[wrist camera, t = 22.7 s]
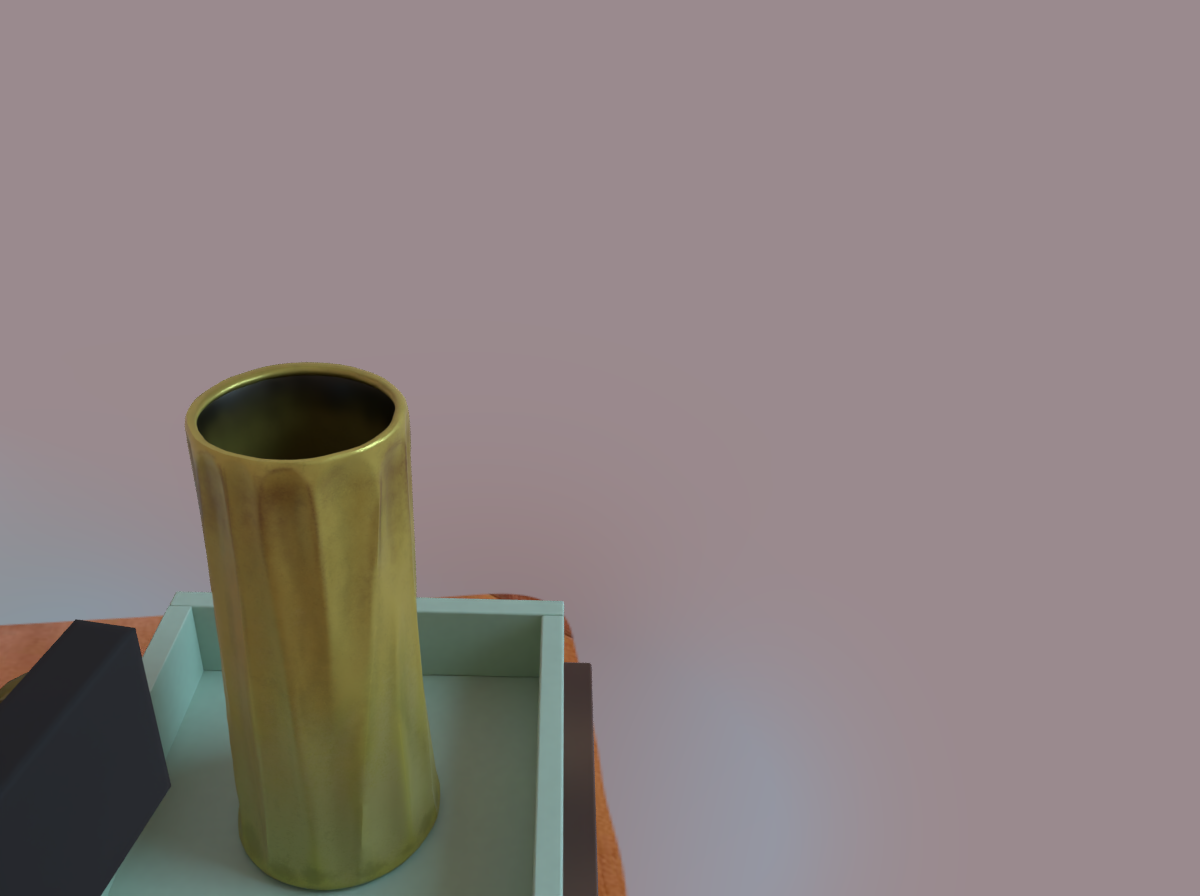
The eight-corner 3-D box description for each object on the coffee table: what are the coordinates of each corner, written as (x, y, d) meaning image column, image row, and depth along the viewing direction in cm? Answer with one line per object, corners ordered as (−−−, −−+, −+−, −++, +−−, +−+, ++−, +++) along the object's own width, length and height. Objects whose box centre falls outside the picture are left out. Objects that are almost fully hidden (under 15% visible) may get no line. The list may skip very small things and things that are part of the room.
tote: (557, 1047, 28) (562, 955, 25) (29, 1045, 27) (-9, 951, 25) (560, 683, 39) (564, 600, 37) (192, 675, 38) (175, 590, 36)
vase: (427, 897, 30) (406, 480, 23) (212, 892, 30) (121, 469, 22) (450, 738, 35) (439, 357, 28) (267, 733, 35) (208, 348, 28)
